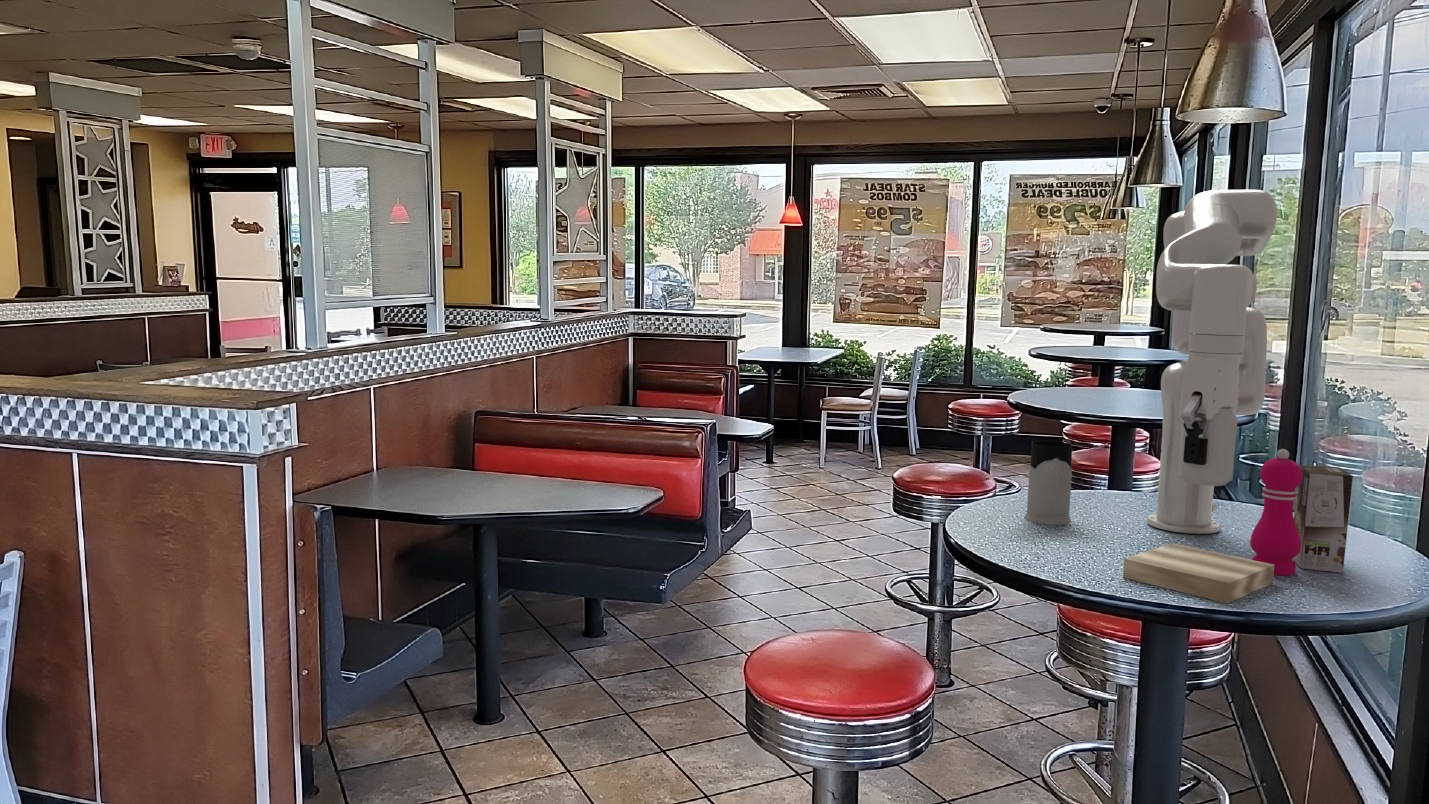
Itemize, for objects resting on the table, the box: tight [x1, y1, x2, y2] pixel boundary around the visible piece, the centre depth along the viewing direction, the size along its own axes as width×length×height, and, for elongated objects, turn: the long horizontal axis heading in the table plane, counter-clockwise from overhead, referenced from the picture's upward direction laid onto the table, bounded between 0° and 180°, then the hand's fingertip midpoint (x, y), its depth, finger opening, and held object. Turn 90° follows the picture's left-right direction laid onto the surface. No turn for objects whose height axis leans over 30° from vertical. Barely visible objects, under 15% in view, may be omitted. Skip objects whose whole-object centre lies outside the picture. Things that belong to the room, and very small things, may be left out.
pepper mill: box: [1249, 448, 1303, 577], centre depth 163 cm, size 7×7×20 cm
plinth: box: [1122, 542, 1275, 604], centre depth 157 cm, size 16×16×3 cm
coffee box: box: [1292, 464, 1354, 574], centre depth 167 cm, size 9×6×16 cm
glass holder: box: [1024, 440, 1073, 526], centre depth 199 cm, size 9×14×15 cm, turn 174°
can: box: [1179, 407, 1238, 487], centre depth 155 cm, size 8×8×12 cm
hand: (1206, 460), depth 155 cm, fingers closed on can, 7 cm apart
